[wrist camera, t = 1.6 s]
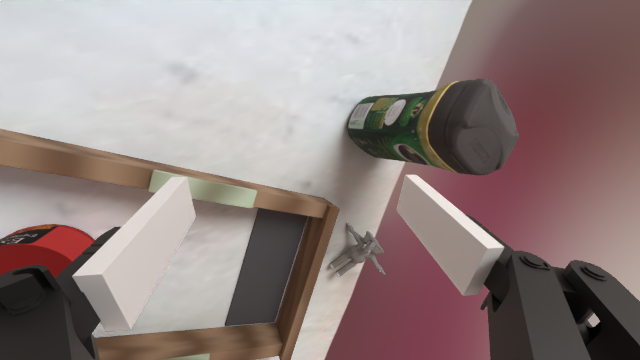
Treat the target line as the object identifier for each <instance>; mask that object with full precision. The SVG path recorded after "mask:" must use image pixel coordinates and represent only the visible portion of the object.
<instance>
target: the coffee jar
mask: <svg viewBox="0 0 640 360" xmlns="http://www.w3.org/2000/svg"><path fill="white" fill-rule="evenodd" d="M348 133H349V135H350V137H351V139H352V140H353V141H354V142H355V143H356V144H357V145H358V146H359V147H360V148H362V149H363V150H364V151H365V152H367V153H368V154H370V155H372V156H374V157H377V158H383V159H391V160H399V161H405V162H412V163H418V164H424V165H429V166H434V167H438V168H442V169H445V170H449V171H453V172H457V173H462V174H471V175H486V174H489V173H492V172H493V171H495V170H498V169H500V168H501V167H502V166H503V165H504V163H505V161H506V160H507V158H508V157H509V155H510V153H511V151H512V150H513V148H514V146H515V144H516V142H517V140H518V138H519V133H518V132H517V130H516V125H515V121H514V118H513V115H512V112H511V111H510V109H509V107H508V105H507V103H506V101H505V100H504V98H503V96H502V94H501V93H500V91H499V90H498V88H497V87H496V85H495V84H494V83H493V82H492V81H491V80H489V79H476V80H467V81H456V82H452V83H450V84H447V85H445V86H443V87H441V88H440V89H438V90H435V91H431V92H424V93H414V94H402V95H384V96H373V97H367V98H365V99H363V100H362V101H361V102H360V103H359V104H358V105H357V107H356V108H355V110H354V111H353V113H352V115H351V117H350V120H349V123H348Z"/></svg>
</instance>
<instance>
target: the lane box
mask: <svg viewBox="0 0 640 360" xmlns="http://www.w3.org/2000/svg"><path fill="white" fill-rule="evenodd" d="M0 165H3V166H9V167H15V168H21V169H27V170H33V171H40V172H46V173H52V174H58V175H64V176H70V177H76V178H82V179H88V180H94V181H100V182H106V183H112V184H118V185H124V186H130V187H137V188H143V189H149V190H148V192H152V193H156V192H157V191H158V190H159V189H160V188H161V187H162V186H163V185H164V184H165V183H166V182H167V181H168V180H169V179H170V178H171V177H187V179H188V184H189V188H190V193H191V197H192V199H196V200H202V201H208V202H215V203H221V204H227V205H233V206H240V207H246V208H253V207H258V208H264V209H270V210H276V211H282V212H288V213H294V214H300V215H306V216H309V219H308V222H307V225H306V228H305V232H304V235H303V238H302V241H301V244H300V248H299V251H298V254H297V257H296V260H295V264H294V267H293V270H292V273H291V276H290V279H289V283H288V286H287V289H286V292H285V295H284V299H283V302H282V305H281V308H280V311H279V315H278V318H277V321H276V323H269V324H257V325H245V326H233V327H221V328H209V329H197V330H185V331H173V332H162V333H150V334H138V335H126V336H114V337H102V338H95V340H96V345H97V349H98V353H99V358H100V360H255V359H261V358H268V357H274V356H279V358H280V360H290V359H291V356H292V353H293V350H294V347H295V344H296V341H297V338H298V335H299V332H300V329H301V326H302V323H303V320H304V317H305V313H306V310H307V307H308V304H309V301H310V298H311V295H312V292H313V289H314V286H315V283H316V280H317V277H318V274H319V271H320V268H321V264H322V261H323V258H324V255H325V252H326V249H327V246H328V243H329V240H330V237H331V234H332V231H333V228H334V225H335V222H336V219H337V216H338V212H339V208H337V207H336V206H334V205H333V204H331V203H330V202H328V201H327V200H326V199H324V198H320V197H315V196H311V195H306V194H301V193H297V192H292V191H287V190H283V189H278V188H273V187H269V186H264V185H259V184H255V183H250V182H245V181H241V180H236V179H231V178H227V177H222V176H217V175H213V174H208V173H203V172H199V171H194V170H189V169H185V168H180V167H175V166H171V165H166V164H161V163H157V162H152V161H147V160H143V159H138V158H134V157H129V156H124V155H120V154H115V153H110V152H106V151H101V150H96V149H92V148H87V147H82V146H78V145H73V144H68V143H64V142H59V141H54V140H50V139H45V138H40V137H36V136H31V135H26V134H22V133H17V132H12V131H8V130H3V129H0Z"/></svg>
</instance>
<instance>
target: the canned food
mask: <svg viewBox="0 0 640 360" xmlns="http://www.w3.org/2000/svg"><path fill="white" fill-rule="evenodd" d="M94 241H95V240H94V239H93V238H92V237H91V236H90V235H88V234H86V233H85V232H83V231H81V230H79V229H76V228H73V227H69V226H65V225H56V224H51V225H40V226H34V227H28V228H25V229H21V230H18V231H16V232H14V233H12V234H10V235H8V236H6V237H4V238H2V239H1V240H0V275H2V274H4V273H7V272H9V271H11V270H14V269H17V268H21V267H24V266H29V265H37V264H39V265H44V266H46V267H47V268H48V269H49V271H50V272H51V274H52V275H53V277H54V278H55V277H56V276H58V275H59V274H60V273H61V272H62V271H63V270H64V269H65V268H66V267H67V266H68V265H69V264H70V263H72V262H73V261H74V260H75V259H76V258H77V257H78V256H79V255H82V252H83V251H85V250H86V249H87V248H88V247H90V246H91V244H92V243H93V242H94Z"/></svg>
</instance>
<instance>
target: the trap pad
mask: <svg viewBox="0 0 640 360" xmlns="http://www.w3.org/2000/svg"><path fill="white" fill-rule="evenodd" d="M306 219H307V216H306V215H300V214H294V213H288V212H282V211H276V210H270V209H264V208H259V210H258V213H257V217H256V220H255V223H254V227H253V230H252V234H251V237H250V241H249V244H248V248H247V251H246V255H245V258H244V261H243V265H242V268H241V272H240V275H239V279H238V282H237V286H236V289H235V293H234V296H233V299H232V303H231V306H230V310H229V313H228V317H227V320H226V324H225V326H229V325H242V324H254V323H266V322H274V321H275V318H276V315H277V312H278V308H279V305H280V302H281V299H282V296H283V292H284V289H285V286H286V283H287V280H288V276H289V273H290V270H291V267H292V264H293V260H294V257H295V254H296V251H297V248H298V244H299V241H300V238H301V235H302V232H303V228H304V225H305V222H306Z"/></svg>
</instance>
